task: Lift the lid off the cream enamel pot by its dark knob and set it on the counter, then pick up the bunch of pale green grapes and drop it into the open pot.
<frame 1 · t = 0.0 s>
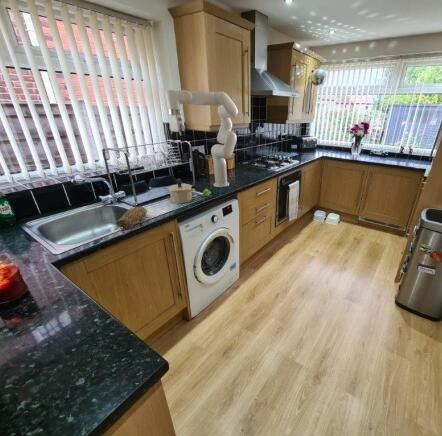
hand: (178, 141, 158), 37 cm above the countertop, tool pointing down, fingers open, 9 cm apart
pot: (182, 199, 165), on the countertop
lid: (180, 187, 162), point 8 cm above the countertop, touching pot
grapes: (206, 195, 173), on the countertop
brown hedgehog: (134, 221, 134), on the countertop
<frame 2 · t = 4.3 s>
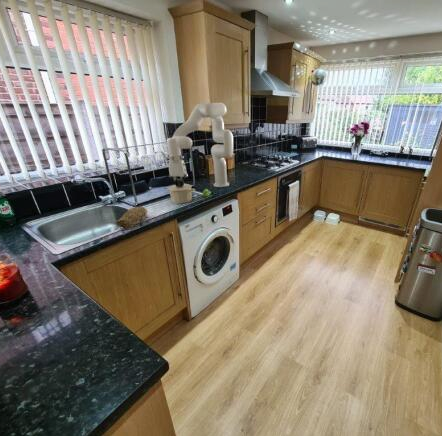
hand: (179, 186, 161), 10 cm above the countertop, tool pointing down, fingers closed on lid, 2 cm apart
lid: (180, 187, 162), point 9 cm above the countertop, touching gripper, pot
everything else where it was.
when the fingers open (2 cm above the countertop, at t = 12.2 s): lid stays where it is, point 1 cm above the countertop.
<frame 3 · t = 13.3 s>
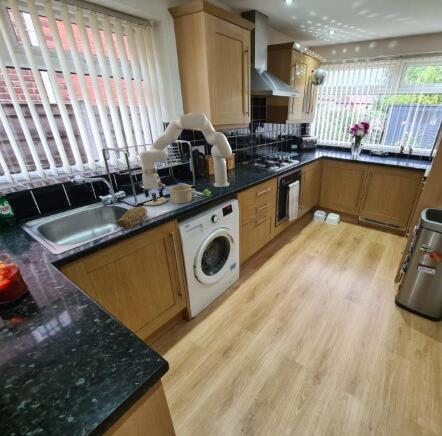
hand: (154, 197, 160), 4 cm above the countertop, tool pointing down, fingers open, 9 cm apart
lid: (155, 201, 161), point 1 cm above the countertop
everything else where it was.
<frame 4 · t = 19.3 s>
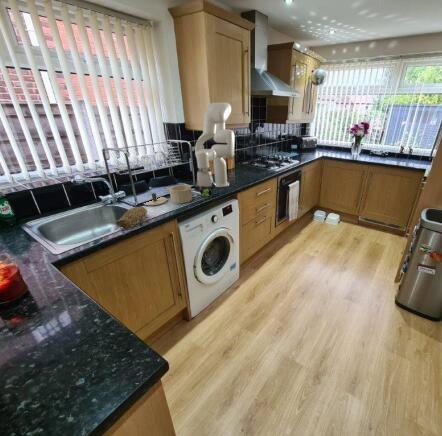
hand: (206, 195, 172), 0 cm above the countertop, tool pointing down, fingers closed on grapes, 5 cm apart
grapes: (206, 195, 173), on the countertop, touching gripper
everything else where it was.
when the fingers open (6 cm above the countertop, at t = 26.2 s): grapes drops 5 cm, resting on pot.
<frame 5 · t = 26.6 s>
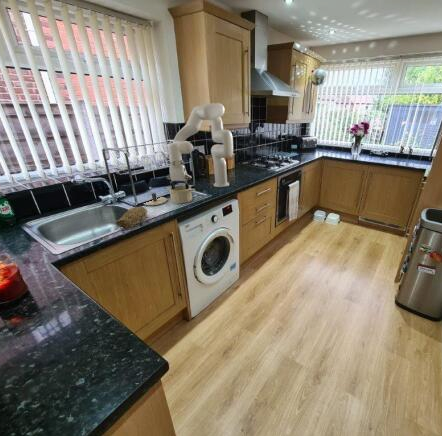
hand: (180, 189, 162), 8 cm above the countertop, tool pointing down, fingers open, 9 cm apart
grapes: (181, 199, 165), resting on pot
everything else where it was.
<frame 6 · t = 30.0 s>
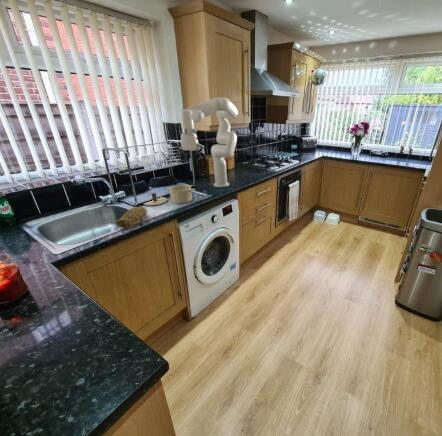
hand: (191, 159, 159), 26 cm above the countertop, tool pointing down, fingers open, 9 cm apart
nothing on the countertop moved.
at the end: lid inside the target area (0.0 cm from its centre), point 0.6 cm above the countertop; grapes inside the target area in the pot (0.0 cm from its centre), point 0.5 cm above the pot's base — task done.
